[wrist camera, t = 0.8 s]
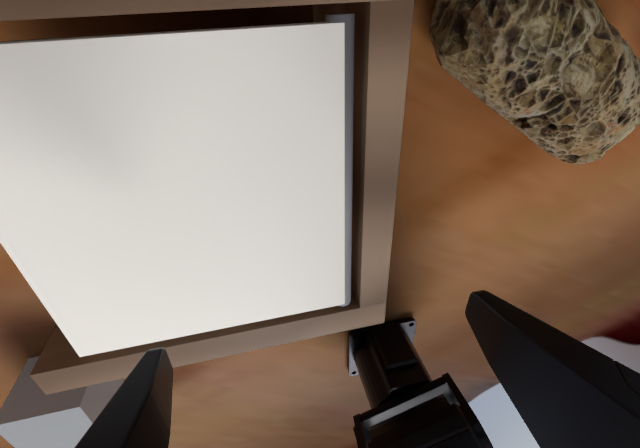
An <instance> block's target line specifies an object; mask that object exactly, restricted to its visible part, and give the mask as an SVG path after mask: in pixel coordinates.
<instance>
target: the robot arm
mask: <svg viewBox="0 0 640 448" xmlns="http://www.w3.org/2000/svg"><path fill="white" fill-rule="evenodd" d="M465 314H466V318H467V320H468V322H469V324H470V326H471V328H472V330H473V333H474V335H475V337H476V339H477V341H478V343H479V345H480V347H481V349H482V351H483V353H484V355H485V357H486V359H487V361H488V363H489V365H490V366H491V368H492V370H493V371H494V373H495V375H496V376H497V378H498V379H499V381H500V383H501V384H502V386H503V388H504V389H505V391H506V393H507V394H508V396H509V397H510V399H511V401H512V402H513V404H514V405H515V407H516V409H517V410H518V412H519V414H520V415H521V417H522V419H523V420H524V422H525V423H526V425H527V427H528V428H529V430H530V432H531V433H532V435H533V437H534V438H535V440H536V441H537V443H538V445H539V446H540V448H640V373H638V372H635V371H633V370H632V369H630V368H628V367H626V366H624V365H623V364H621V363H619V362H617V361H613V359H611V358H610V357H608V356H606V355H604V354H602V353H600V352H598V351H597V350H595V349H593V348H591V347H589V346H587V345H585V344H584V343H582V342H580V341H578V340H576V339H574V338H573V337H571V336H569V335H567V334H565V333H563V332H561V331H560V330H558V329H556V328H554V327H552V326H550V325H549V324H547V323H545V322H543V321H541V320H539V319H537V318H536V317H534V316H532V315H530V314H528V313H526V312H525V311H523V310H521V309H519V308H517V307H515V306H513V305H512V304H510V303H508V302H506V301H504V300H502V299H500V298H499V297H497V296H495V295H493V294H491V293H489V292H487V291H485V290H481V291H475V292H472V293H471V294H470V297H469V300H468V303H467V307H466V310H465ZM415 329H416V321H415V319H414V318H407V319H402V320H397V321H393V322H388V323H383V324H379V325H374V326H369V327H365V328H360V329H355V330H352V331H350V332H349V334H348V372H349V375H350V376H355V375H360V378H361V381H362V384H363V386H364V389H365V392H366V395H367V398H368V401H369V403H370V406H371V410H368V411H366V412H364V413H362V414H357V415H355V416H353V418H354V423H355V426H354V428H353V430H354V433H355V436H356V440H357V445H358V448H493V446H492V444H491V442H490V440H489V438H488V436H487V435H486V433H485V431H484V429H483V427H482V426H481V424H480V422H479V420H478V419H477V417H476V416H475V414H474V412H473V411H472V409H471V408H470V406H469V404H468V403H467V401H466V400H465V398H464V397H463V395H462V394H461V392H460V391H459V389H458V387H457V386H456V384H455V383H454V381H453V380H452V378H451V377H450V375H449V374H448V373H446V374H443V375H442V377H440V378H438V379H436V380H433V381H432V379H431V378H430V376H429V374H428V372H427V370H426V368H425V366H424V365H423V363H422V361H421V359H420V357H419V355H418V353H417V352H416V350H415V348H414V346H413V341H414V335H415ZM172 385H173V368H172V365H171V362H170V359H169V357H168V354H167V352H166V350H165V348H163V347H161V348H155V349H150V350H148V351H146V352H145V354H144V355H143V356H142V358H141V359H140V360H139V362H138V363H137V364H136V366H135V367H134V368H133V370H132V371H131V372H130V374H129V375H128V376H127V378H126V379H125V380H124V382H123V383H122V385H121V386H120V387H119V389H118V390H117V391H116V393H115V394H114V395H113V397H112V398H111V399H110V401H109V402H108V403H107V405H106V406H105V407H104V409H103V410H102V411H101V413H100V414H99V415H98V417H97V418H96V419H95V421H94V422H93V424H92V425H91V426H90V428H89V429H88V430H87V432H86V433H85V434H84V436H83V437H82V438H81V440H80V441H79V442H78V444H77V445H76V446H75V448H168V445H169V438H170V427H171V407H172Z"/></svg>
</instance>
